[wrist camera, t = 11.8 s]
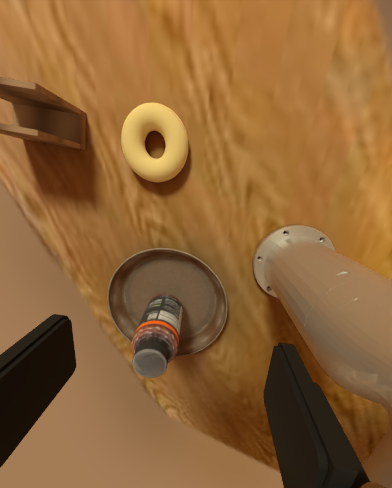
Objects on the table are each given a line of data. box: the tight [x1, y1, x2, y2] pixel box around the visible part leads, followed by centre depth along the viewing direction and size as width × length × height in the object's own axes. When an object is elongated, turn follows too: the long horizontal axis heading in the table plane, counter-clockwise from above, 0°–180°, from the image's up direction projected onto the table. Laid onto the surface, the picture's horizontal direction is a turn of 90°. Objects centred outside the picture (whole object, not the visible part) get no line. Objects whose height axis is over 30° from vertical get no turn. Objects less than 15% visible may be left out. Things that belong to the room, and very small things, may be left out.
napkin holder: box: [0, 77, 86, 150], centre depth 25 cm, size 10×5×9 cm, turn 80°
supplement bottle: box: [132, 293, 183, 378], centre depth 28 cm, size 6×6×11 cm
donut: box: [121, 103, 189, 182], centre depth 28 cm, size 10×5×9 cm
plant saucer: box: [107, 248, 227, 357], centre depth 35 cm, size 21×21×3 cm
